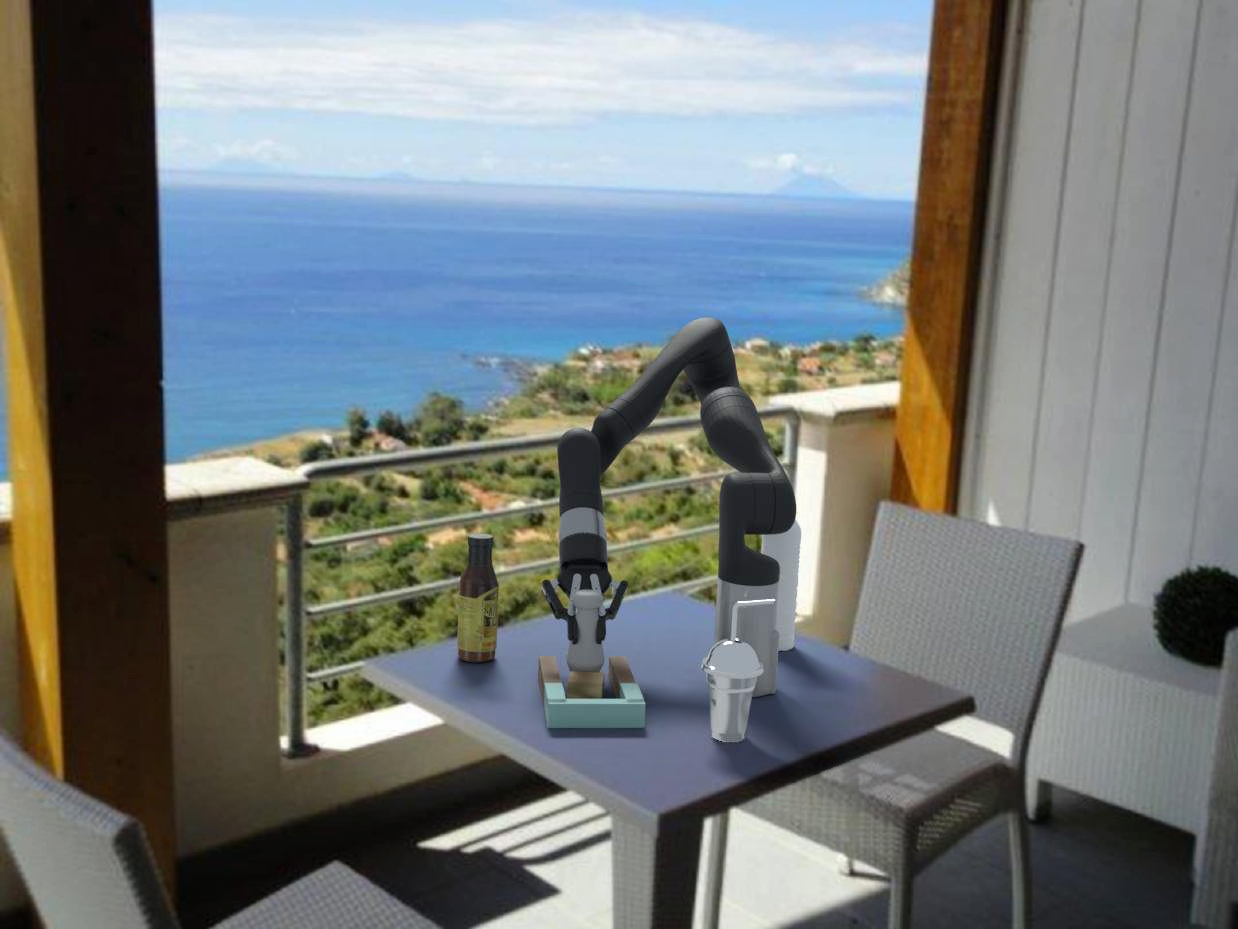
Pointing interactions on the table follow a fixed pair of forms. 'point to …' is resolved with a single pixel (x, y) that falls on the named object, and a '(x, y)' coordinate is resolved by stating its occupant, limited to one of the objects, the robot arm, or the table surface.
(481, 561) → the sauce bottle
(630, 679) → the slot
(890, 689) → the table surface
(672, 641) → the table surface
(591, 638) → the salt shaker
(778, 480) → the robot arm
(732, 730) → the cup with straw
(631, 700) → the teal u-shaped block
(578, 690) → the block
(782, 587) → the water bottle
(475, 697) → the table surface
